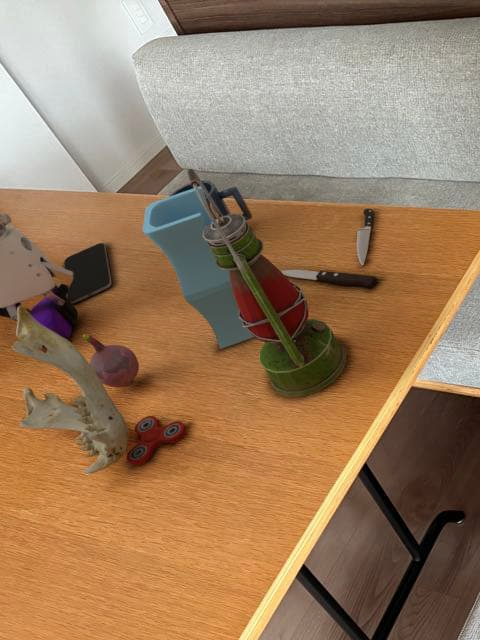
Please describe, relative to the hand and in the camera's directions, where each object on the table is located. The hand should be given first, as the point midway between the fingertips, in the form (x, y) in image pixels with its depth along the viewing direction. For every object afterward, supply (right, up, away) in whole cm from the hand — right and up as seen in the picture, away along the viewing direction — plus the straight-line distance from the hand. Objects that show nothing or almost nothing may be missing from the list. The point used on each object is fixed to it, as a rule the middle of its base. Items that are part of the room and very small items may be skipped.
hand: (57, 326), depth 127 cm
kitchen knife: (+44, +6, -7) cm, 45 cm away
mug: (+23, +16, +9) cm, 30 cm away
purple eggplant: (0, 0, +1) cm, 1 cm away
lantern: (+45, -8, -19) cm, 50 cm away
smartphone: (-1, +10, +10) cm, 14 cm away
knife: (+48, +14, -2) cm, 50 cm away
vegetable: (+18, -10, -13) cm, 25 cm away
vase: (+33, -1, -9) cm, 35 cm away
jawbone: (+19, -12, -19) cm, 30 cm away
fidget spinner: (+27, -16, -23) cm, 39 cm away
